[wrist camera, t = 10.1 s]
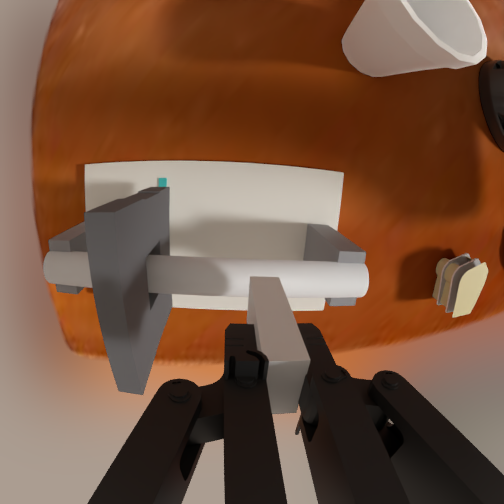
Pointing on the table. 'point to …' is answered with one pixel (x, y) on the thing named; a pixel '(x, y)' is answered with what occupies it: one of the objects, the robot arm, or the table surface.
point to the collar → (129, 280)
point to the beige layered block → (459, 283)
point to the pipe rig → (228, 233)
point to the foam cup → (414, 36)
